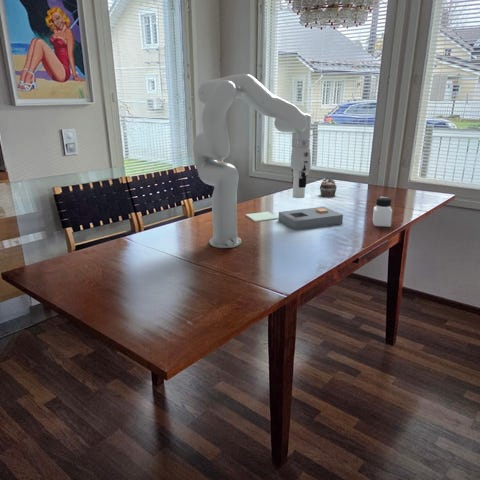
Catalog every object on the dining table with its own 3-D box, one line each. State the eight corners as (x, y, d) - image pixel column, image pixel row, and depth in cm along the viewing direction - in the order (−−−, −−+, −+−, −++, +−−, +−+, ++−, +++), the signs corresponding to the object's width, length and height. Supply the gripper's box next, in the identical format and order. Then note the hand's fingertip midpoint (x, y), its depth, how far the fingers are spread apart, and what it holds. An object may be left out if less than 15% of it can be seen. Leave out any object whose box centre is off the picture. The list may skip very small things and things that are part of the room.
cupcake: (316, 194, 239) (317, 177, 235) (331, 193, 241) (332, 176, 238) (324, 198, 230) (325, 180, 227) (339, 196, 233) (340, 179, 229)
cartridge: (306, 197, 179) (308, 167, 175) (296, 198, 177) (297, 168, 173) (300, 195, 184) (302, 166, 179) (290, 196, 182) (291, 166, 178)
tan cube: (327, 219, 187) (327, 210, 186) (320, 220, 186) (320, 211, 185) (322, 217, 191) (323, 208, 189) (315, 218, 190) (316, 209, 188)
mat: (278, 218, 192) (278, 217, 192) (255, 221, 188) (255, 220, 188) (268, 212, 202) (268, 211, 202) (245, 215, 198) (245, 214, 198)
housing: (342, 223, 184) (342, 214, 182) (294, 229, 176) (295, 221, 174) (323, 214, 198) (323, 206, 196) (278, 220, 190) (278, 212, 188)
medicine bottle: (391, 226, 177) (393, 200, 173) (373, 226, 179) (376, 199, 175) (388, 222, 184) (391, 196, 180) (372, 221, 185) (374, 195, 181)
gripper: (319, 145, 167) (316, 189, 172) (298, 141, 182) (297, 182, 188) (302, 146, 164) (300, 190, 170) (283, 142, 179) (282, 183, 185)
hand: (298, 185), depth 179 cm, fingers closed on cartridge, 5 cm apart
